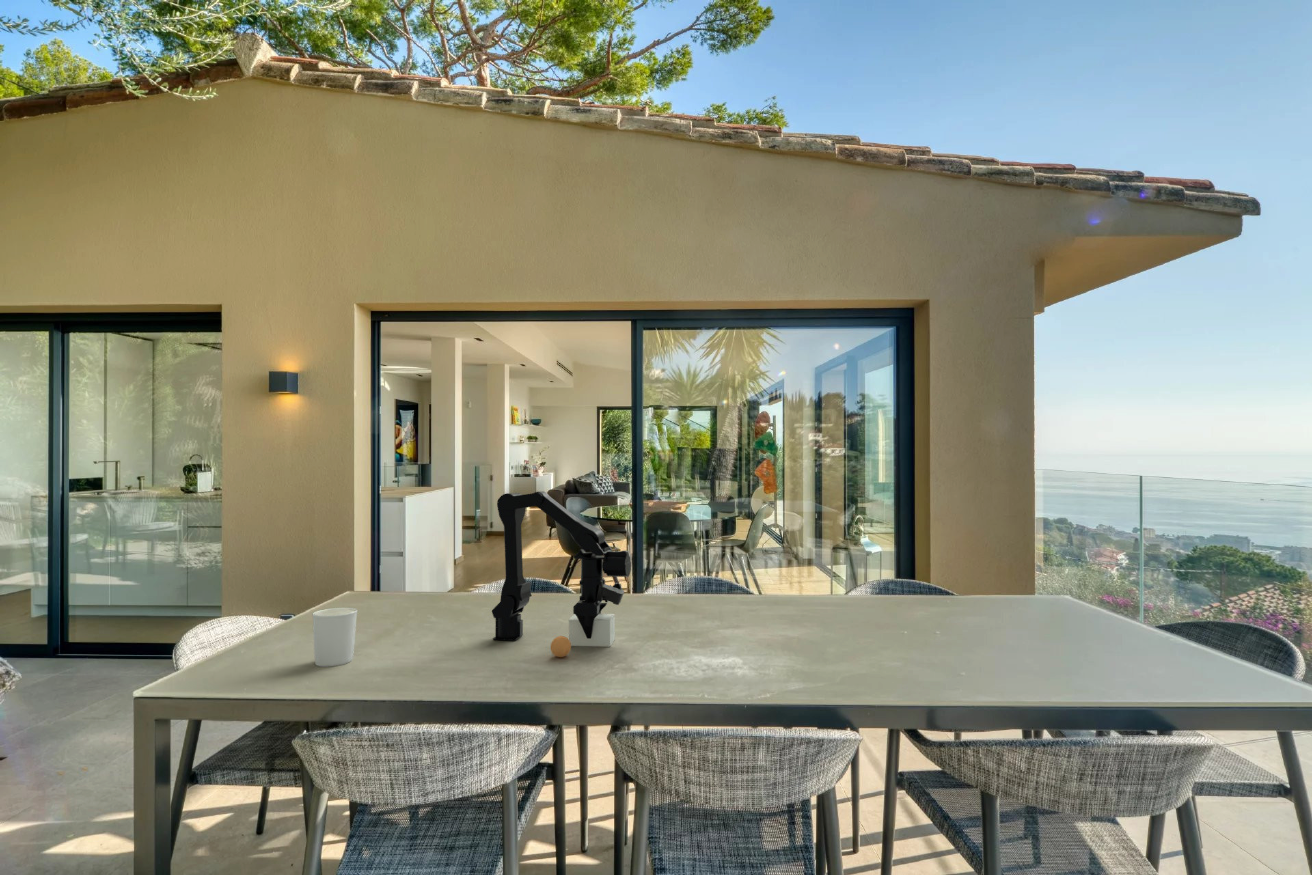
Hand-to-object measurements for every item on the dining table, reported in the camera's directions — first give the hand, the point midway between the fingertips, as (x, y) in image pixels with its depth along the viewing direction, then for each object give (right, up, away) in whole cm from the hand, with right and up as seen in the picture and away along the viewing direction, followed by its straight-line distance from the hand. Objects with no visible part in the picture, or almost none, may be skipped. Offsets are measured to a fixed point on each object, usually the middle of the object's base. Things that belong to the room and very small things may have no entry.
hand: (592, 634), depth 173 cm
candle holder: (-61, -2, -16) cm, 63 cm away
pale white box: (0, -2, 0) cm, 2 cm away
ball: (-6, +1, -13) cm, 15 cm away
